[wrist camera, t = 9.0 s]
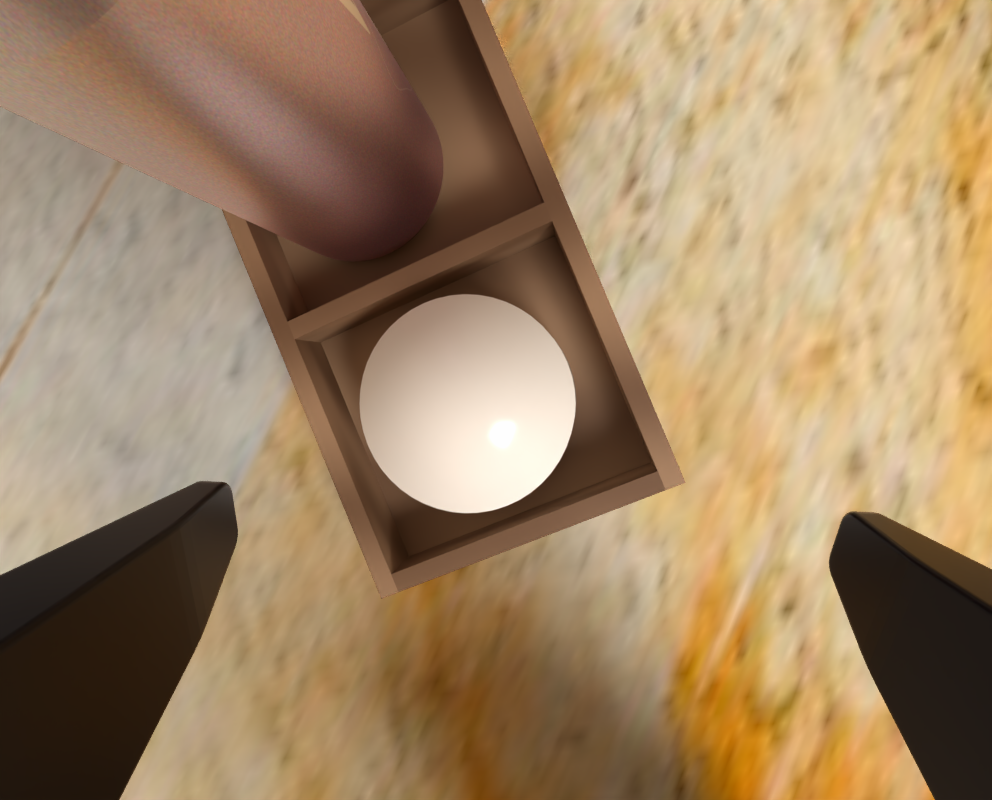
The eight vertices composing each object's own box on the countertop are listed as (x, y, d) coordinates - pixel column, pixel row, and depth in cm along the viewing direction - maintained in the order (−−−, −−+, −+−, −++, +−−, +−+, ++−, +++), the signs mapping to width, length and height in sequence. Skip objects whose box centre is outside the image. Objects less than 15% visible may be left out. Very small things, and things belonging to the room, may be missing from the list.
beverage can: (250, 148, 22) (-442, -322, 7) (394, 52, 21) (-54, -705, 6) (332, 297, 22) (-208, 128, 7) (480, 206, 21) (227, -207, 6)
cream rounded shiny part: (613, 365, 21) (617, 364, 18) (514, 531, 21) (503, 554, 18) (446, 270, 21) (425, 254, 18) (355, 433, 22) (322, 441, 19)
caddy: (670, 467, 22) (685, 482, 18) (409, 568, 23) (381, 598, 20) (470, -7, 22) (451, -72, 19) (226, 122, 23) (169, 82, 20)
